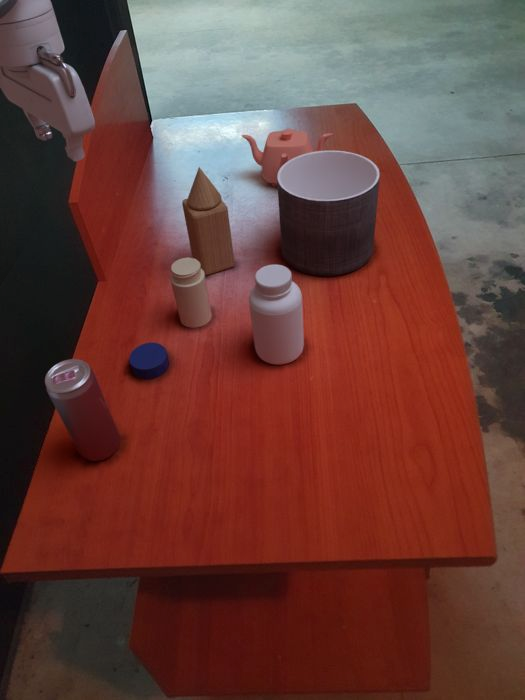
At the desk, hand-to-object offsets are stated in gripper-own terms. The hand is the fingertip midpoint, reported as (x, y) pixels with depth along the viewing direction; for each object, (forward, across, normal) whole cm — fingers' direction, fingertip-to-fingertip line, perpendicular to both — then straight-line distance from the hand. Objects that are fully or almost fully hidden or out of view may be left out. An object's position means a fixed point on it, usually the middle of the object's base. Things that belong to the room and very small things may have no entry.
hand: (60, 148), depth 79 cm
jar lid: (+29, -15, +3) cm, 33 cm away
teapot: (+31, +11, -52) cm, 62 cm away
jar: (+31, -11, -10) cm, 34 cm away
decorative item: (+31, -1, -21) cm, 38 cm away
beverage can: (+31, -23, +17) cm, 42 cm away
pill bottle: (+31, -27, -14) cm, 44 cm away
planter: (+31, -13, -39) cm, 52 cm away
